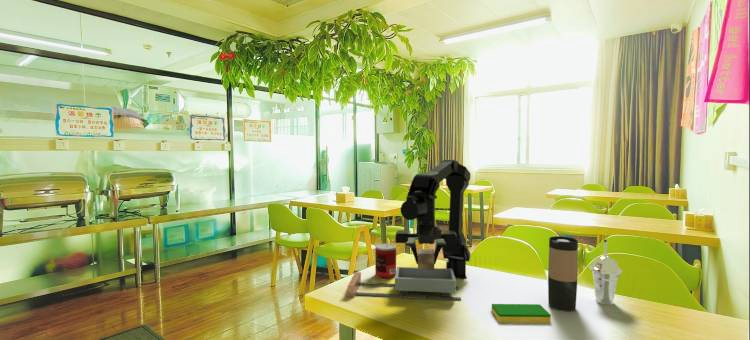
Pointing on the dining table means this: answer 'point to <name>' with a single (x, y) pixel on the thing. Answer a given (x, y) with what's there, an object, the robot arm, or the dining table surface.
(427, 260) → the walnut block
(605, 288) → the cup with straw
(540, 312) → the dish sponge
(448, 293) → the grey open tray
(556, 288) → the travel mug
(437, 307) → the dining table surface
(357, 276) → the track
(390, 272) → the canned food
